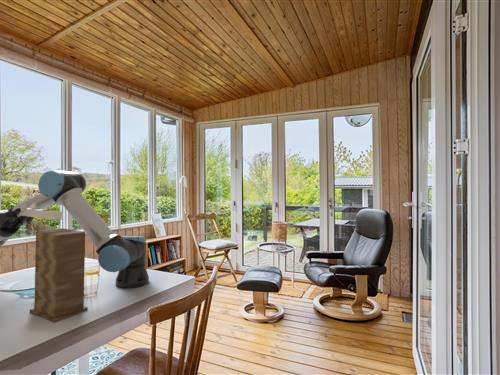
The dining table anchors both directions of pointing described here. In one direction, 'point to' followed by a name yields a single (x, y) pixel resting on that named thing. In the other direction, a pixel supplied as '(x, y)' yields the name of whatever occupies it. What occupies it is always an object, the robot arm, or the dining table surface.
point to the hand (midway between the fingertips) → (30, 205)
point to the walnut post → (59, 274)
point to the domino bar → (42, 214)
